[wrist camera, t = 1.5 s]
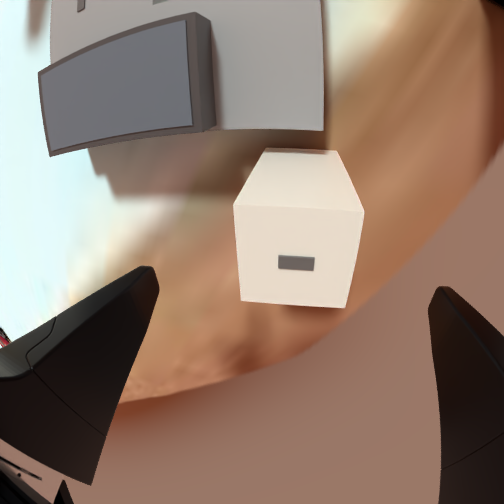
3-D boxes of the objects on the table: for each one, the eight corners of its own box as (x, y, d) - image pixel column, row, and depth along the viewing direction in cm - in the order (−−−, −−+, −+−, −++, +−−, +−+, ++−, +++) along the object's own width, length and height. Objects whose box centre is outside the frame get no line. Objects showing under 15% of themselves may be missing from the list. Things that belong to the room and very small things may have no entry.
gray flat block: (210, 20, 9) (194, 11, 7) (216, 125, 12) (202, 132, 11) (60, 68, 11) (36, 72, 9) (70, 147, 14) (48, 157, 12)
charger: (336, 151, 14) (365, 213, 8) (331, 214, 17) (345, 309, 10) (265, 147, 15) (232, 205, 8) (267, 210, 17) (240, 302, 11)
